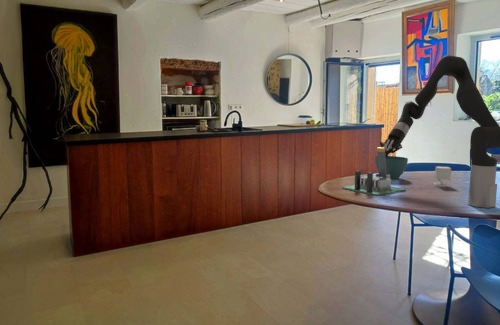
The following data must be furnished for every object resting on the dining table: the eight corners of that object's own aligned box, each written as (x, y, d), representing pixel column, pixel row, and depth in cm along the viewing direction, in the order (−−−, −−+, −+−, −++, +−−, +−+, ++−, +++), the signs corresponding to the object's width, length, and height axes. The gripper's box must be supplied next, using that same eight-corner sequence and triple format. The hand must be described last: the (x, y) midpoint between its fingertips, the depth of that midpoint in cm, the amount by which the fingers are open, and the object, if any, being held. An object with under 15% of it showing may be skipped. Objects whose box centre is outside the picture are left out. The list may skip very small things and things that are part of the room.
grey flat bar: (387, 177, 200) (385, 147, 197) (385, 178, 200) (384, 148, 196) (379, 176, 204) (377, 147, 201) (378, 176, 204) (376, 147, 200)
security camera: (450, 187, 205) (451, 168, 204) (435, 186, 206) (436, 168, 205) (446, 185, 211) (447, 166, 210) (432, 184, 213) (433, 166, 211)
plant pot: (408, 177, 236) (409, 156, 234) (405, 182, 220) (406, 160, 218) (377, 174, 244) (378, 155, 243) (371, 179, 228) (372, 158, 227)
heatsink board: (405, 190, 196) (406, 171, 195) (377, 196, 184) (378, 175, 182) (369, 184, 214) (370, 166, 213) (342, 188, 202) (342, 169, 200)
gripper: (385, 127, 209) (369, 151, 204) (407, 128, 198) (390, 154, 193) (390, 136, 213) (375, 161, 207) (412, 138, 202) (397, 163, 197)
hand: (382, 157), depth 200 cm, fingers closed
